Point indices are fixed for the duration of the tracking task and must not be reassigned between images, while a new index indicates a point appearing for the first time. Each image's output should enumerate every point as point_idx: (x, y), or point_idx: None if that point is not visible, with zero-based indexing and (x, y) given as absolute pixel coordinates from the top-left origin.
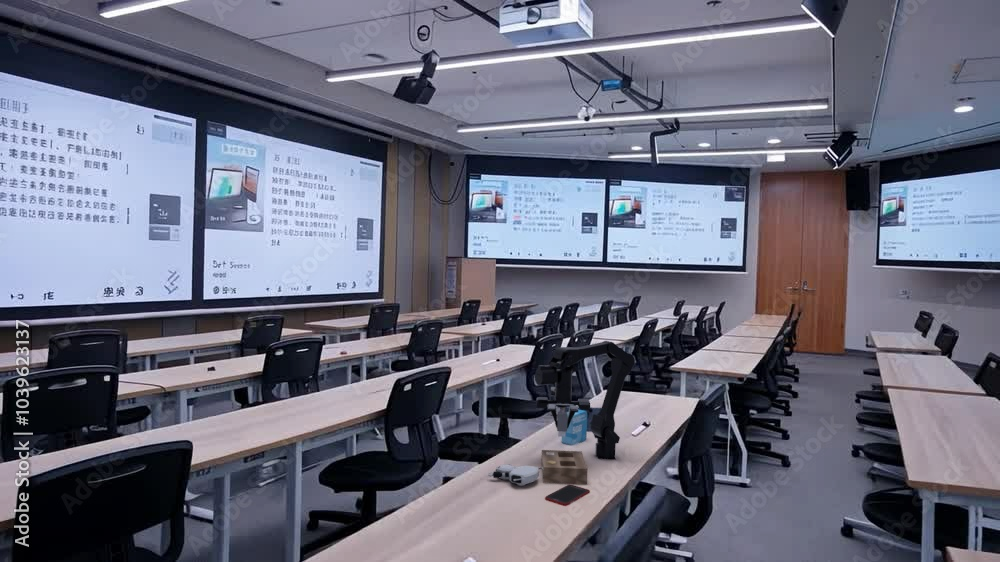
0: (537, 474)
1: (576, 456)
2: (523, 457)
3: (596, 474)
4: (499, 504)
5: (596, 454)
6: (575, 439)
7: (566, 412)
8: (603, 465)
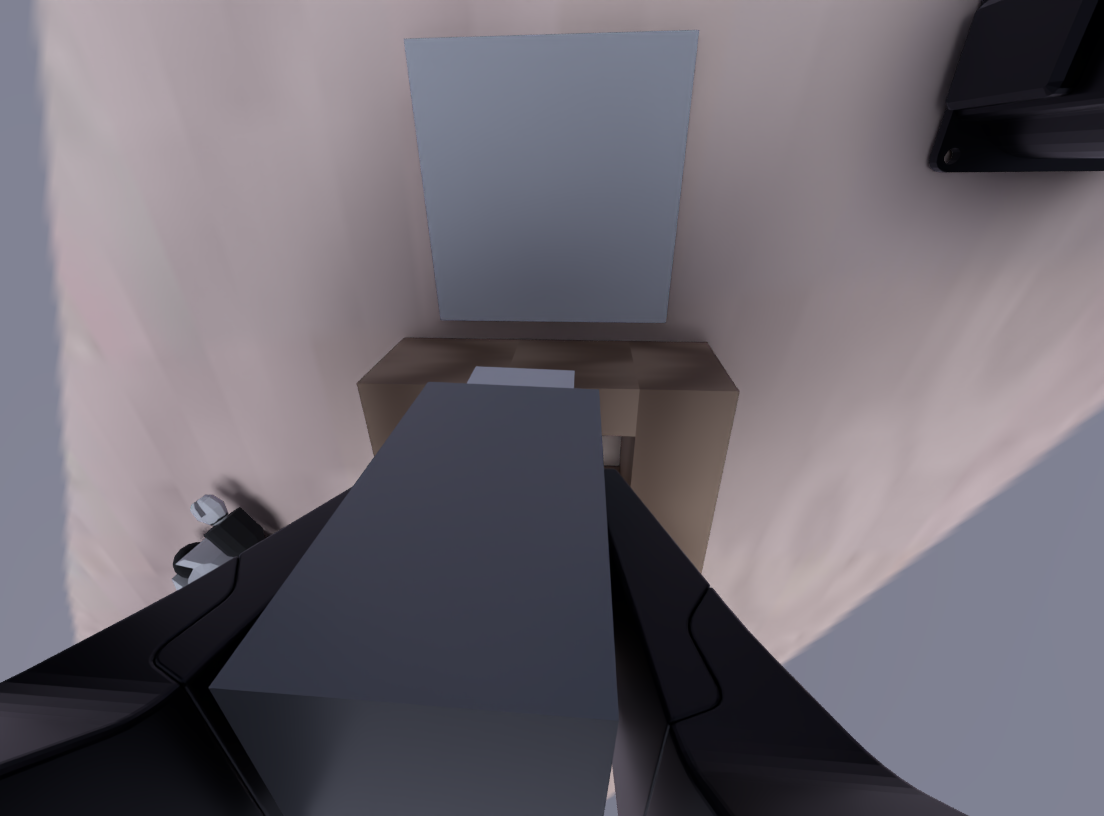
0: None
1: (654, 516)
2: (231, 182)
3: (763, 491)
4: None
5: (958, 105)
6: None
7: (581, 749)
8: (897, 320)
